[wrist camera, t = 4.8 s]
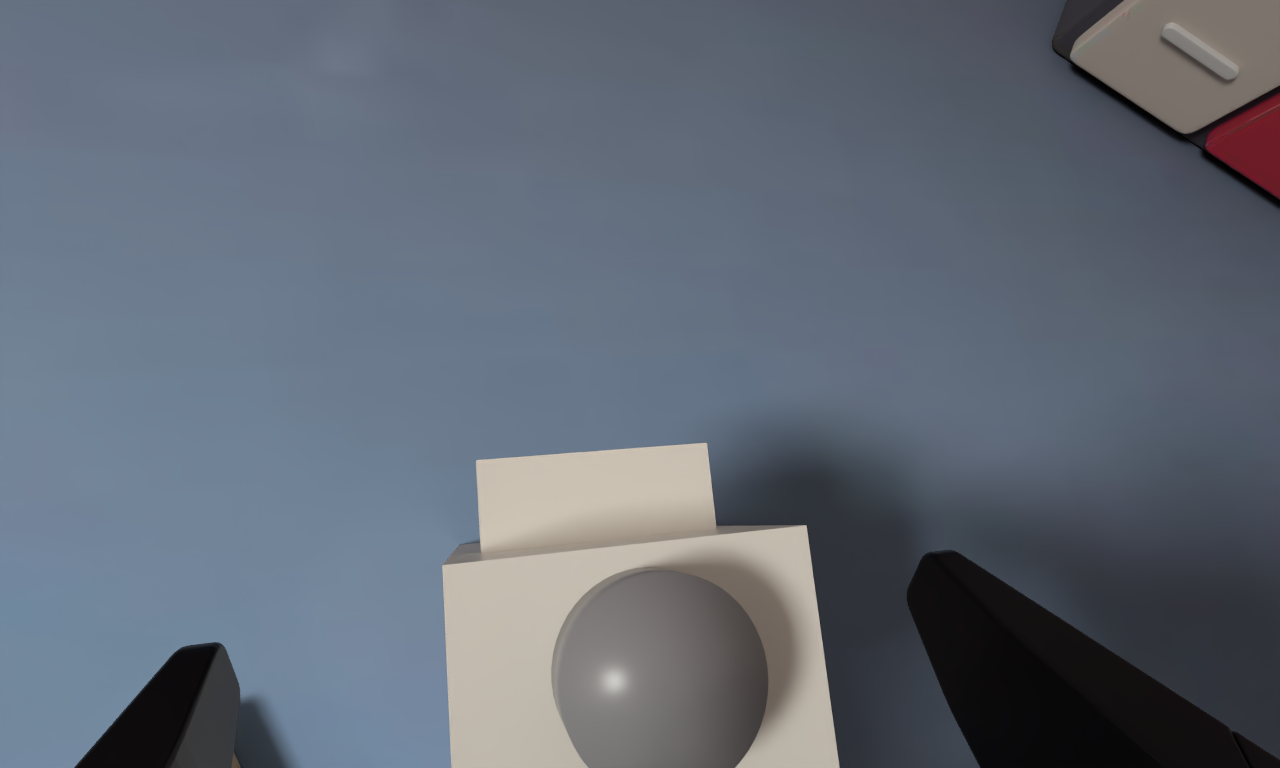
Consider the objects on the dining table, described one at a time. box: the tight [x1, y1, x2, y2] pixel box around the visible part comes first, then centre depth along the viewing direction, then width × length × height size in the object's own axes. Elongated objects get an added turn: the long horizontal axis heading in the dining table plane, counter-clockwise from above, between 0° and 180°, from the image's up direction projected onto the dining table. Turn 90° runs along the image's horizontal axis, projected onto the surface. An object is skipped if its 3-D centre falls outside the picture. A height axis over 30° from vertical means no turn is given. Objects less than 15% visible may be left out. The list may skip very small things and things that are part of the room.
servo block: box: [442, 443, 839, 768], centre depth 11 cm, size 7×4×9 cm, turn 6°
